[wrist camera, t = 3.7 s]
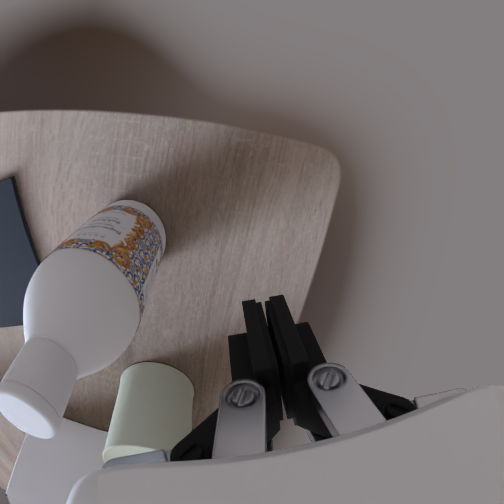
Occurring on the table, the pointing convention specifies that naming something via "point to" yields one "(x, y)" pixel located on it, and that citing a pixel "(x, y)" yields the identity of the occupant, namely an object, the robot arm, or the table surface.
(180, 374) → the can
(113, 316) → the bath foam
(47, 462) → the gable box
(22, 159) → the table surface
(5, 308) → the mat
